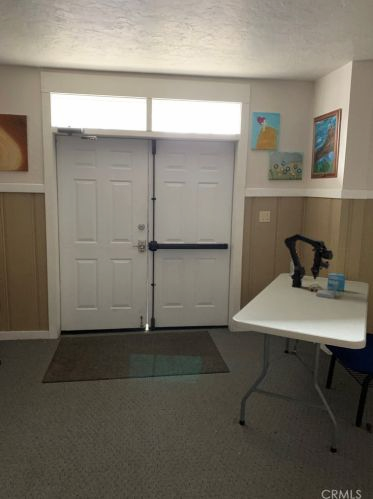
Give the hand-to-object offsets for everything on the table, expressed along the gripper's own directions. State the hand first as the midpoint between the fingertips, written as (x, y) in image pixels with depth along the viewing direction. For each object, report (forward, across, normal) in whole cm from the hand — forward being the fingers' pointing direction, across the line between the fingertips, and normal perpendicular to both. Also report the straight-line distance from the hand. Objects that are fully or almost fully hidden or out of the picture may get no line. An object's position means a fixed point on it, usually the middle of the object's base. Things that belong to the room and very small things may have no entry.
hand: (316, 278), depth 295 cm
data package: (+10, +13, -13) cm, 21 cm away
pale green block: (+6, 0, 0) cm, 6 cm away
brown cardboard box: (+10, 0, 0) cm, 10 cm away
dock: (+10, -9, -9) cm, 16 cm away
